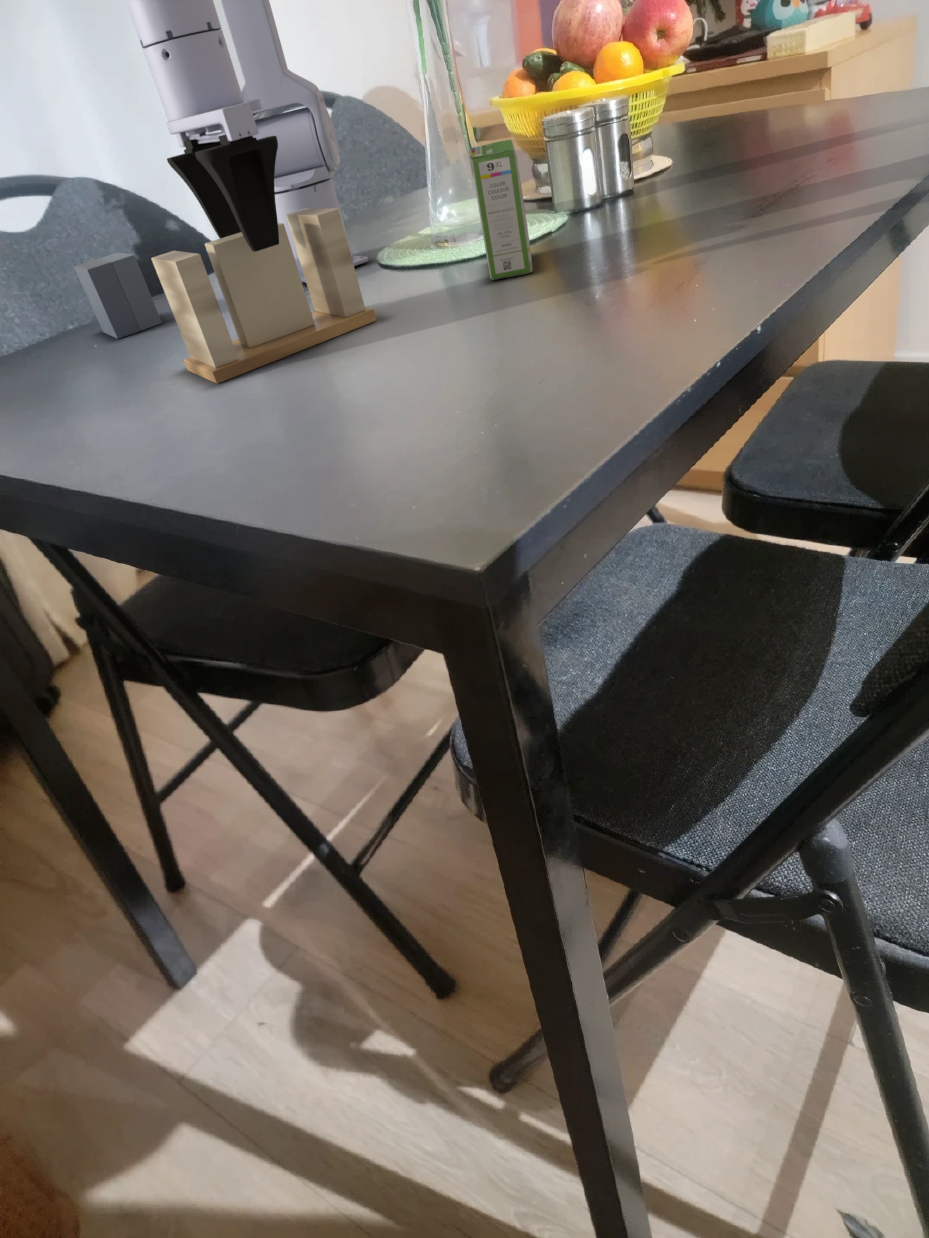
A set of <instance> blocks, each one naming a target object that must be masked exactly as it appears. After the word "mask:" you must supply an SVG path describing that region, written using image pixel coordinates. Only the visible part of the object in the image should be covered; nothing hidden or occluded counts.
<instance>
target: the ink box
mask: <svg viewBox="0 0 929 1238" xmlns="http://www.w3.org/2000/svg"><path fill="white" fill-rule="evenodd" d="M464 104H465V103H463V102H462V103H461V113H462V114H461V115H462V120H463V124H464V130H465V134H466V141H467V146H468V154H469V163H470V167H471V174H472V178H473V181H474V187H475V192H476V194H475V195H476V200H477V206H478V207H477V208H478V213H479V219H480V226H481V232H482V238H483V244H484V250H485V255H486V256H485V257H486V261H487V266H488V273H489V278H490V280H492V281H493V280H499V279H504V278H505V279H506V278H511V277H517V276H522V275H526V274H530V273H532V272H533V271H534V270H533V258H532V250H531V242H530V236H529V229H528V220H527V214H526V207H525V200H524V195H523V189H522V183H521V181H522V180H521V175H520V169H519V163H518V162H519V161H518V157H517V152H516V148H515V145H514V141H513V139H506V140H500V141H495V142H491V143H486V144H483V145H479V146H475V147H474V146H472V144H471V139H470V135H469V128H468V123H467V116H466V111H465V105H464Z"/></svg>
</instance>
